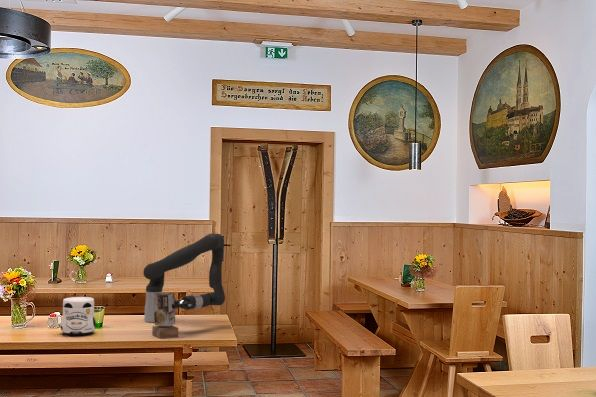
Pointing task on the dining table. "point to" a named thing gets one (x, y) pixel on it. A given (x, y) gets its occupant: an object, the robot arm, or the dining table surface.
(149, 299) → the robot arm
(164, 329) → the walnut block
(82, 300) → the milk container
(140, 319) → the dining table surface
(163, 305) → the coffee box
